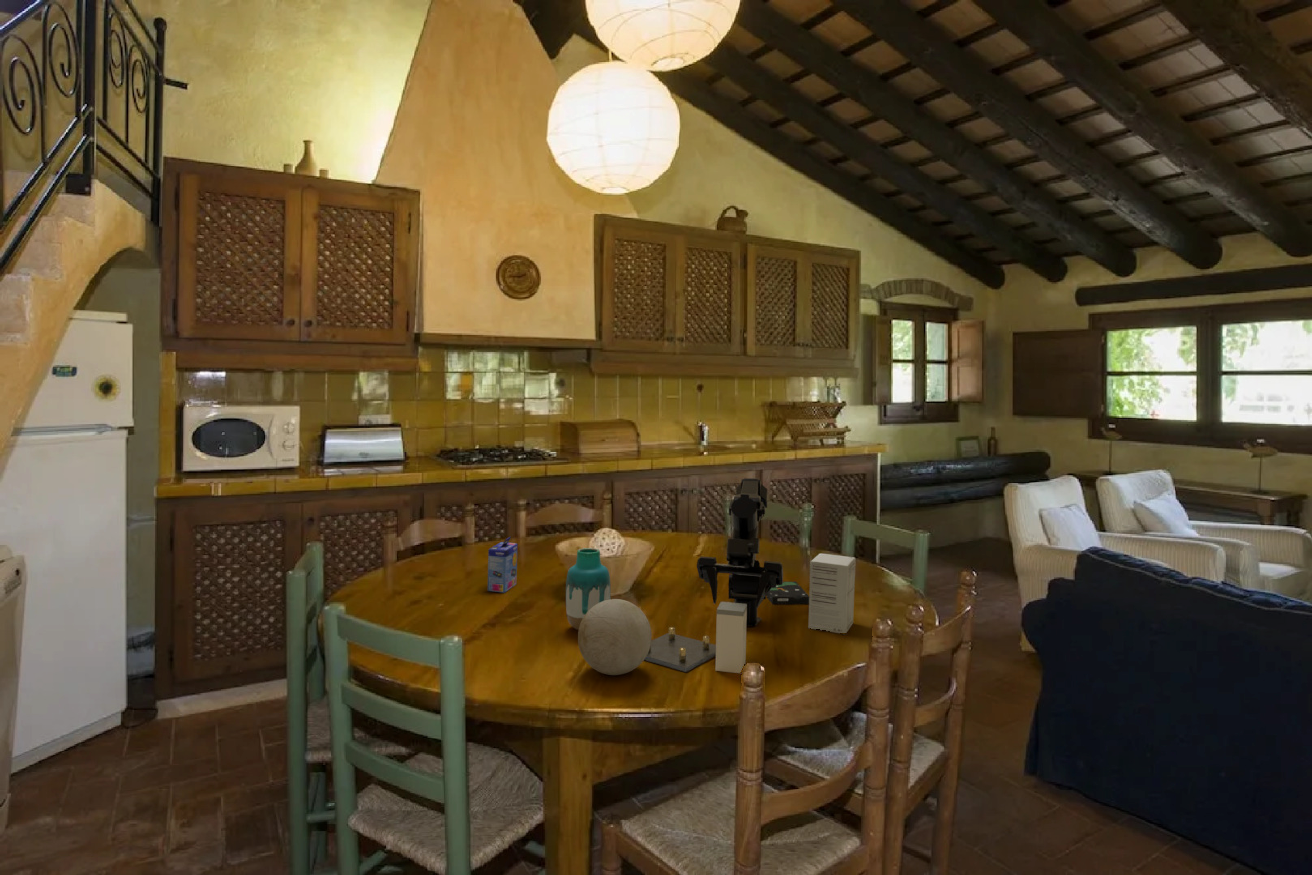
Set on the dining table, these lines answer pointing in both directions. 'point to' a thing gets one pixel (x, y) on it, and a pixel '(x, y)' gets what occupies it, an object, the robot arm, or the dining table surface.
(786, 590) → the disk drive
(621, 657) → the decorative sphere
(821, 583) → the supplement box
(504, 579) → the ink cartridge box
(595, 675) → the dining table surface
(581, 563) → the vase
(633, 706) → the dining table surface
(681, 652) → the plate
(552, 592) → the dining table surface
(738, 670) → the module box
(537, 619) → the dining table surface
